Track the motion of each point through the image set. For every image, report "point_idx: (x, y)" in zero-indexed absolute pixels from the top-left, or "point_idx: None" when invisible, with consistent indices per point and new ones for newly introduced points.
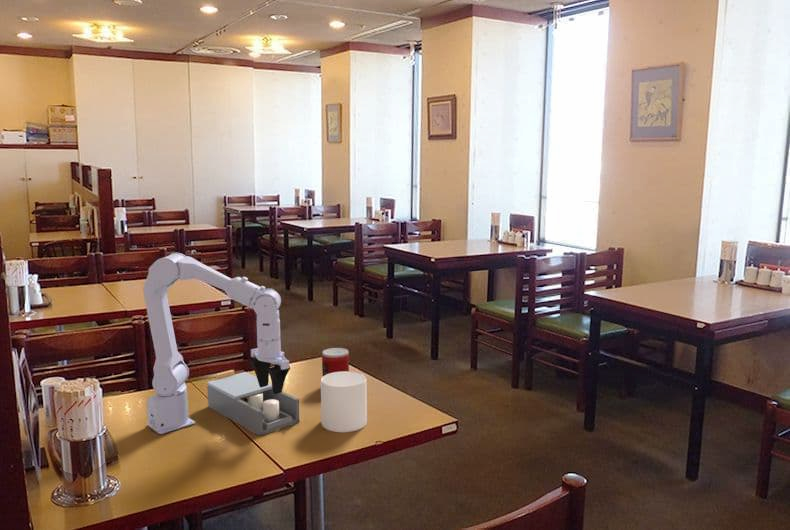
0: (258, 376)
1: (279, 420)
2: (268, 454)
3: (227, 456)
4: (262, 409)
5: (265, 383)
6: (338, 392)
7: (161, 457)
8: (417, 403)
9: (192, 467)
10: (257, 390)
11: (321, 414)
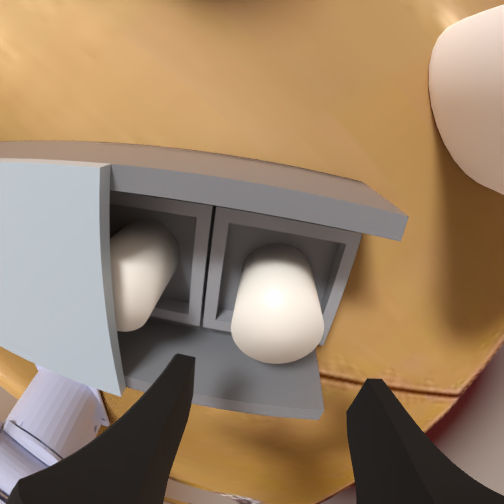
0: (169, 469)
1: (340, 295)
2: (401, 388)
3: (317, 432)
4: (171, 248)
5: (190, 387)
6: None
7: (207, 464)
8: None
9: (289, 464)
10: (105, 299)
11: (480, 170)
